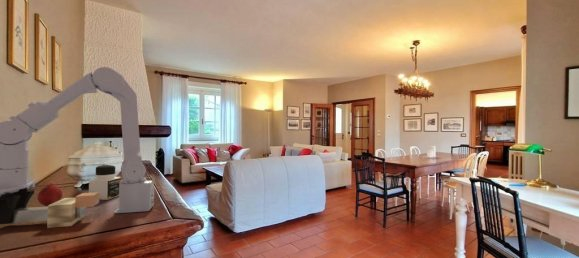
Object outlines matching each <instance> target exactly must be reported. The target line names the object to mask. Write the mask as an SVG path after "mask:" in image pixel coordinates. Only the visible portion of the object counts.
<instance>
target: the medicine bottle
mask: <svg viewBox="0 0 579 258" xmlns="http://www.w3.org/2000/svg"><path fill="white" fill-rule="evenodd" d="M121 177H122V176H116V166H115V165H113V164H102V165H98V166H96V167H95V178H93V179H89V180H88V193H95V192H99V201H105V200H106V201H108V200H112V199H115V198H117V197H119V181H120V180H121V179H122V178H121Z"/></svg>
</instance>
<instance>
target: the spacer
mask: <svg viewBox="0 0 579 258" xmlns="http://www.w3.org/2000/svg"><path fill="white" fill-rule="evenodd" d="M74 198H75V208H79V207H86V208H91V207H95V206H96V205H98V204H99V203H100V200H99V192H95V193H89V192H82V193H80V194H78V195H76V196H75V197H74Z"/></svg>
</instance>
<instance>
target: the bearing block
mask: <svg viewBox="0 0 579 258" xmlns="http://www.w3.org/2000/svg"><path fill="white" fill-rule="evenodd" d="M75 198H76V197H64V198H61V199H60V200H59V201H57V202H55V203H53V204H51V205H48V218H47V221H46V222H47V223H46V225H47V226H46V227H47V229H50V228H62V227H72V226H73V225H75V224H76V223H78V222H80V221H81V220H83V218H85V217H86V214H85V215H84V216H83V217H81V218H75Z"/></svg>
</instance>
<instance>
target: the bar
mask: <svg viewBox="0 0 579 258" xmlns="http://www.w3.org/2000/svg"><path fill="white" fill-rule="evenodd" d="M86 208H87V207H79V208H75V218H81V217H83V216H84V215H85V216H86ZM47 218H48V206H34V207H32V206H31V207H26V208H17V209H15V211H14V218H13V221H12V223H10V224H9V225H14V224H19V223H21V224H22V223H31V222H32V223H33V222H45V221H46V222H47Z"/></svg>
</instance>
